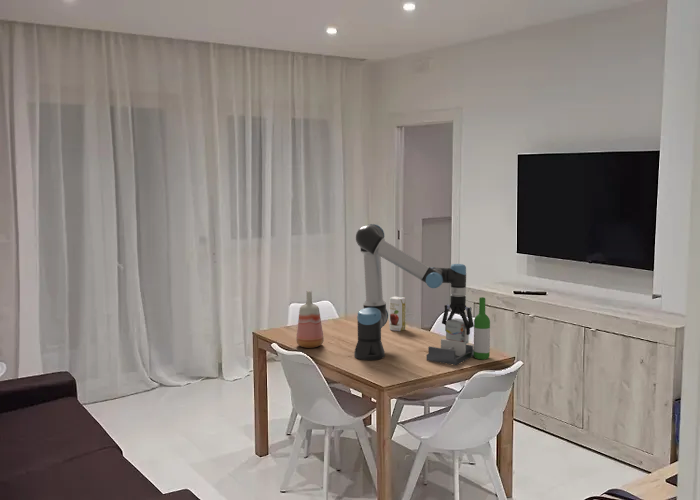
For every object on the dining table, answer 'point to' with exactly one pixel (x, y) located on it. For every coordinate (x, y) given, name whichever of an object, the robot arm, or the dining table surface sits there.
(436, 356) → the dark grey tray
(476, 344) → the wine bottle
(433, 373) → the dining table surface
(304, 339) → the vase
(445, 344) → the block
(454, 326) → the ink box
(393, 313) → the juice carton
